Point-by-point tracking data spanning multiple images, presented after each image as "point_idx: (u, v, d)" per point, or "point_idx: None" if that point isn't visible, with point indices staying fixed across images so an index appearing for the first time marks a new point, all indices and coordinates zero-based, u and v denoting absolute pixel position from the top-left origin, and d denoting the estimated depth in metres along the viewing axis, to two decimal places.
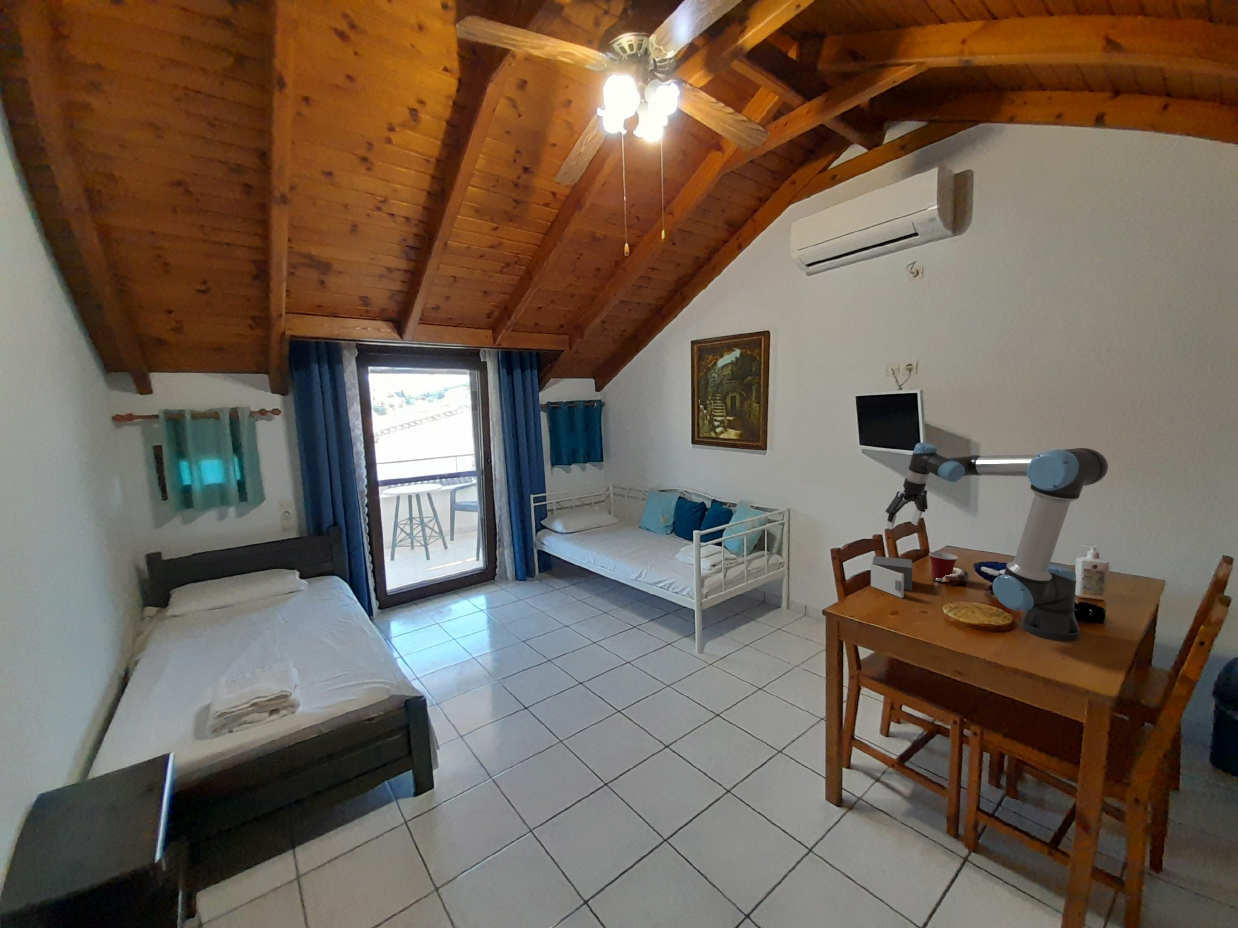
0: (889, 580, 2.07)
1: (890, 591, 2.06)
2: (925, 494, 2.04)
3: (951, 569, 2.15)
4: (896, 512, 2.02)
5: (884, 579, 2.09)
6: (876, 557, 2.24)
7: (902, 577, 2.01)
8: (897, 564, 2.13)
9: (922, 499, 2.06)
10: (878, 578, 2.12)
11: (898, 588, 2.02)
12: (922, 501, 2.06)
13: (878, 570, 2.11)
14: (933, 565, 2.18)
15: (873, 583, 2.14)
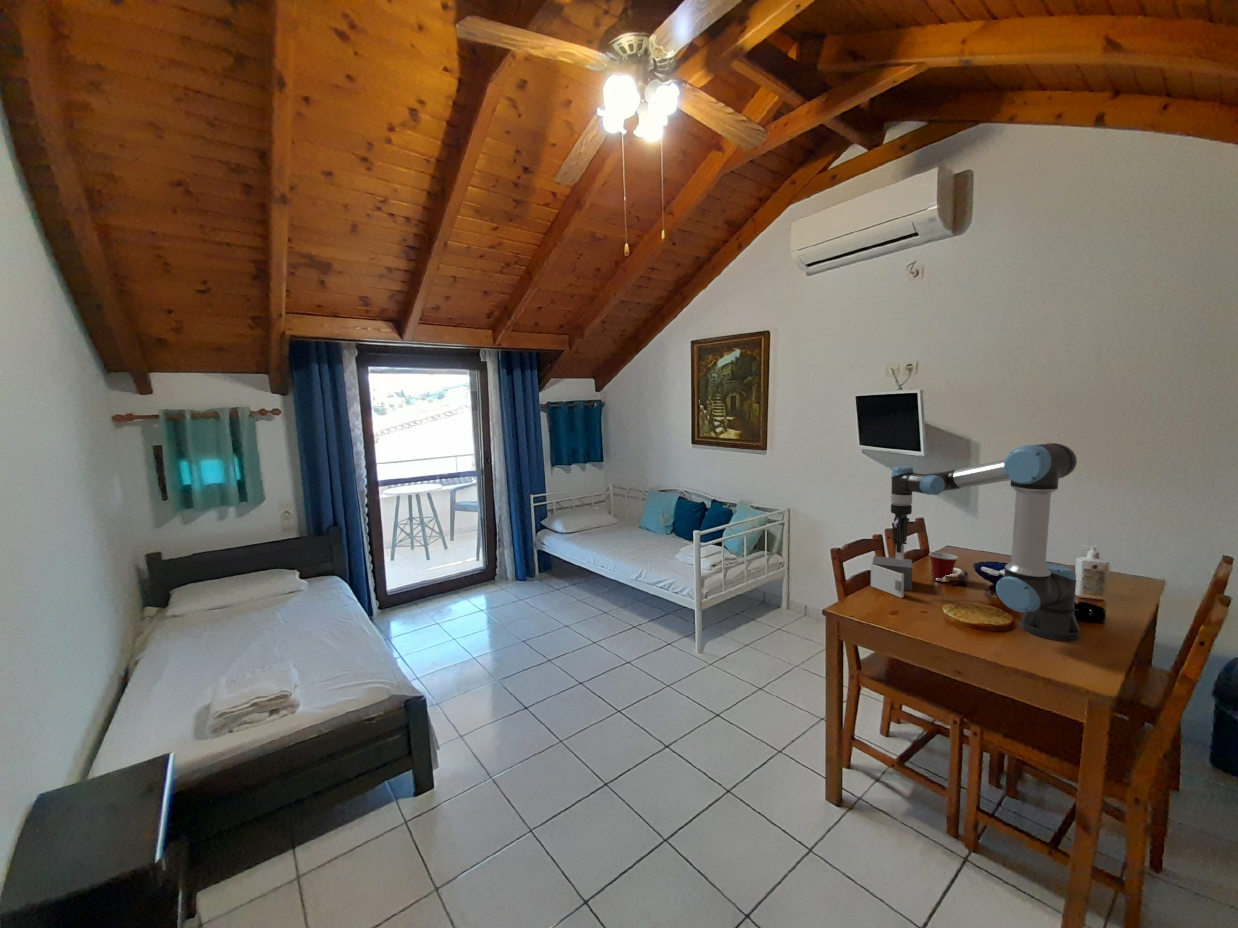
0: (889, 580, 2.07)
1: (890, 591, 2.06)
2: (908, 522, 2.07)
3: (951, 569, 2.15)
4: (902, 541, 2.04)
5: (884, 579, 2.09)
6: (876, 557, 2.24)
7: (902, 577, 2.01)
8: (897, 564, 2.13)
9: (904, 528, 2.07)
10: (878, 578, 2.12)
11: (898, 588, 2.02)
12: None
13: (878, 570, 2.11)
14: (933, 565, 2.18)
15: (873, 583, 2.14)
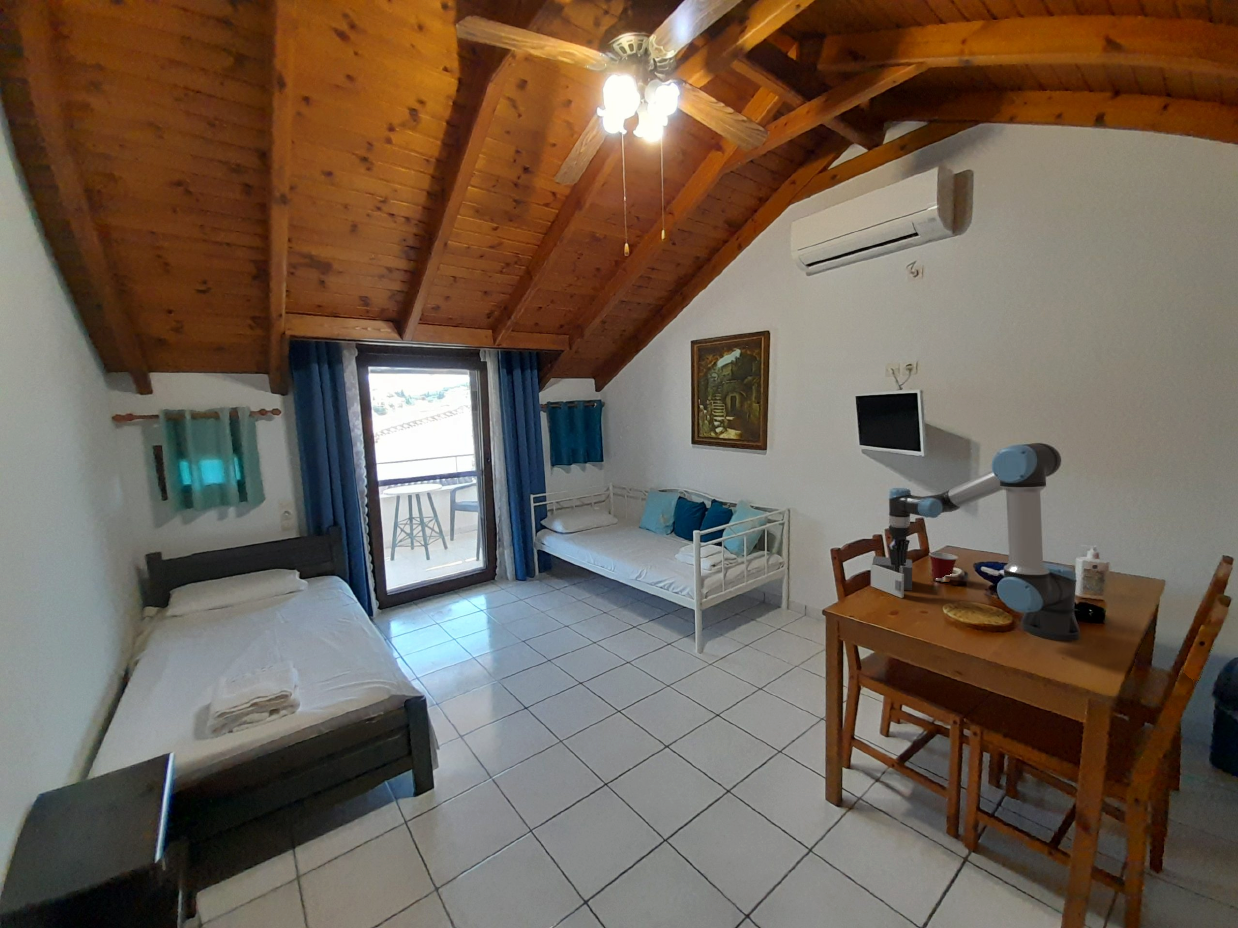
0: (889, 580, 2.07)
1: (890, 591, 2.06)
2: (908, 543, 2.07)
3: (951, 569, 2.15)
4: (900, 562, 2.04)
5: (884, 579, 2.09)
6: (876, 557, 2.24)
7: (902, 577, 2.01)
8: None
9: (903, 549, 2.07)
10: (878, 578, 2.12)
11: (898, 588, 2.02)
12: None
13: (878, 570, 2.11)
14: (933, 565, 2.18)
15: (873, 583, 2.14)
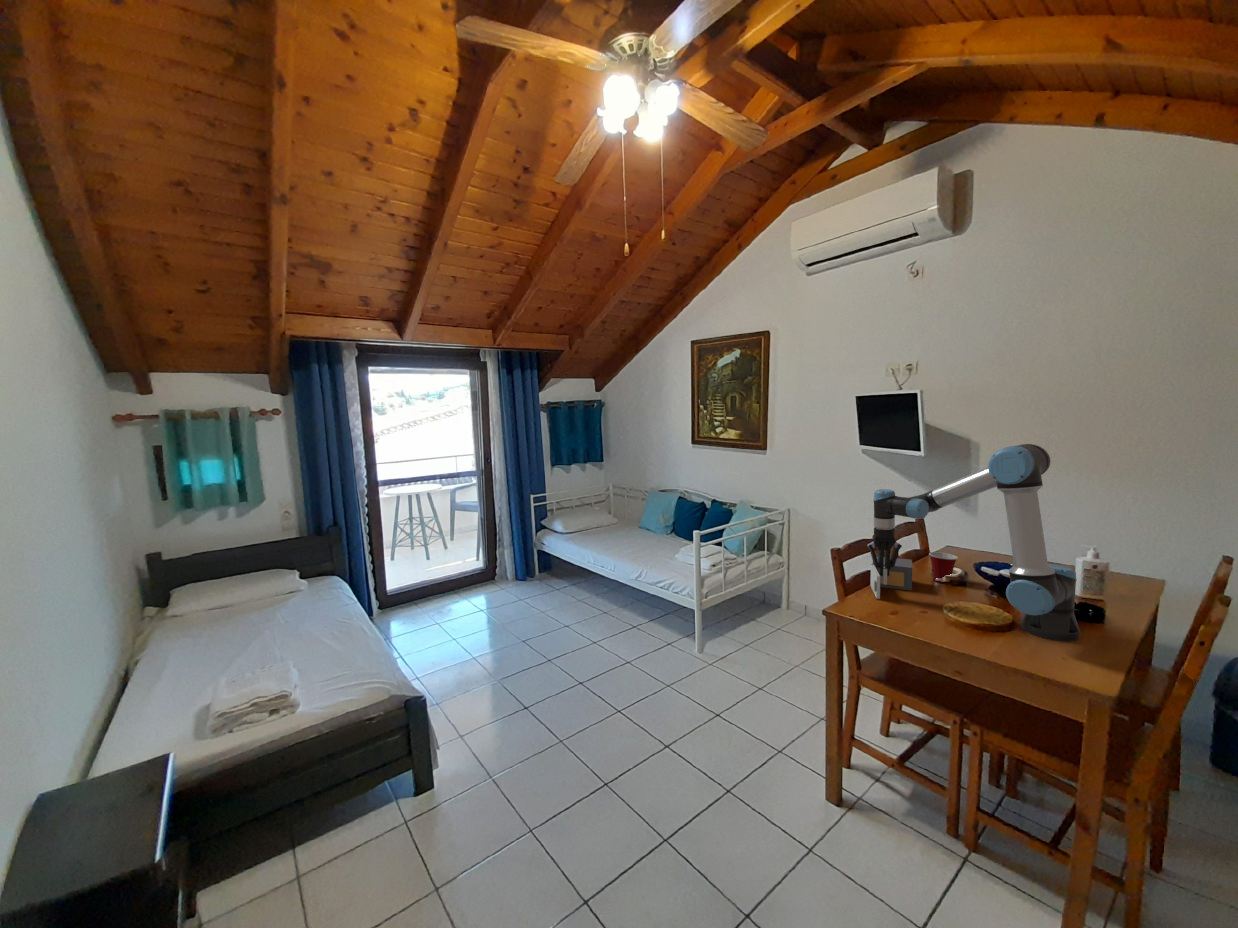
0: (874, 580, 2.07)
1: (874, 591, 2.07)
2: (898, 548, 2.01)
3: (951, 569, 2.15)
4: (882, 564, 2.03)
5: (873, 579, 2.09)
6: None
7: (878, 578, 2.01)
8: (897, 564, 2.13)
9: (893, 553, 2.02)
10: (872, 578, 2.12)
11: (874, 588, 2.03)
12: (892, 556, 2.03)
13: (872, 570, 2.12)
14: (933, 565, 2.18)
15: (871, 583, 2.15)
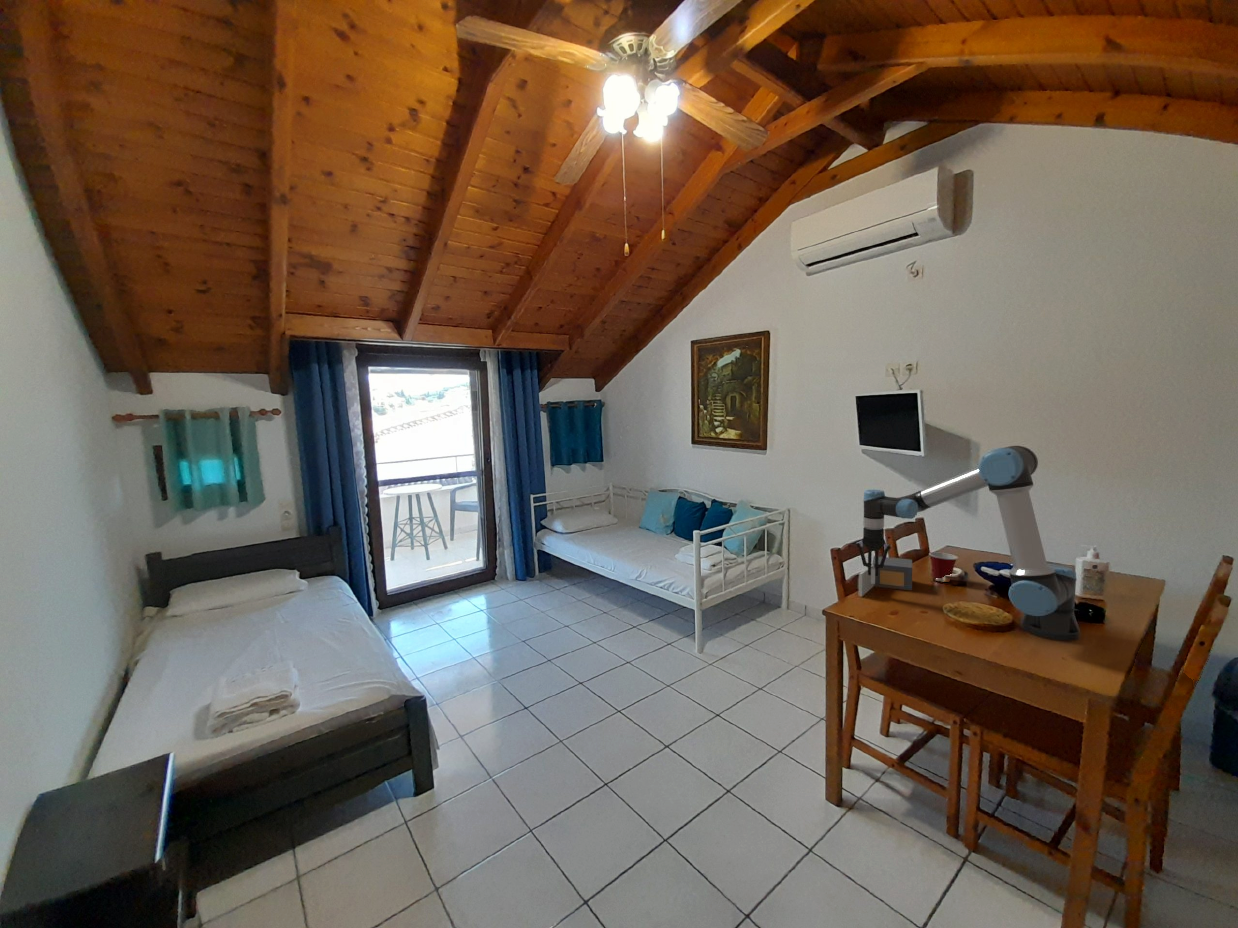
0: None
1: None
2: (887, 549, 2.01)
3: (951, 569, 2.15)
4: (869, 564, 2.05)
5: None
6: None
7: (859, 576, 2.04)
8: (897, 564, 2.13)
9: (883, 554, 2.03)
10: None
11: None
12: (882, 557, 2.03)
13: None
14: (933, 565, 2.18)
15: None
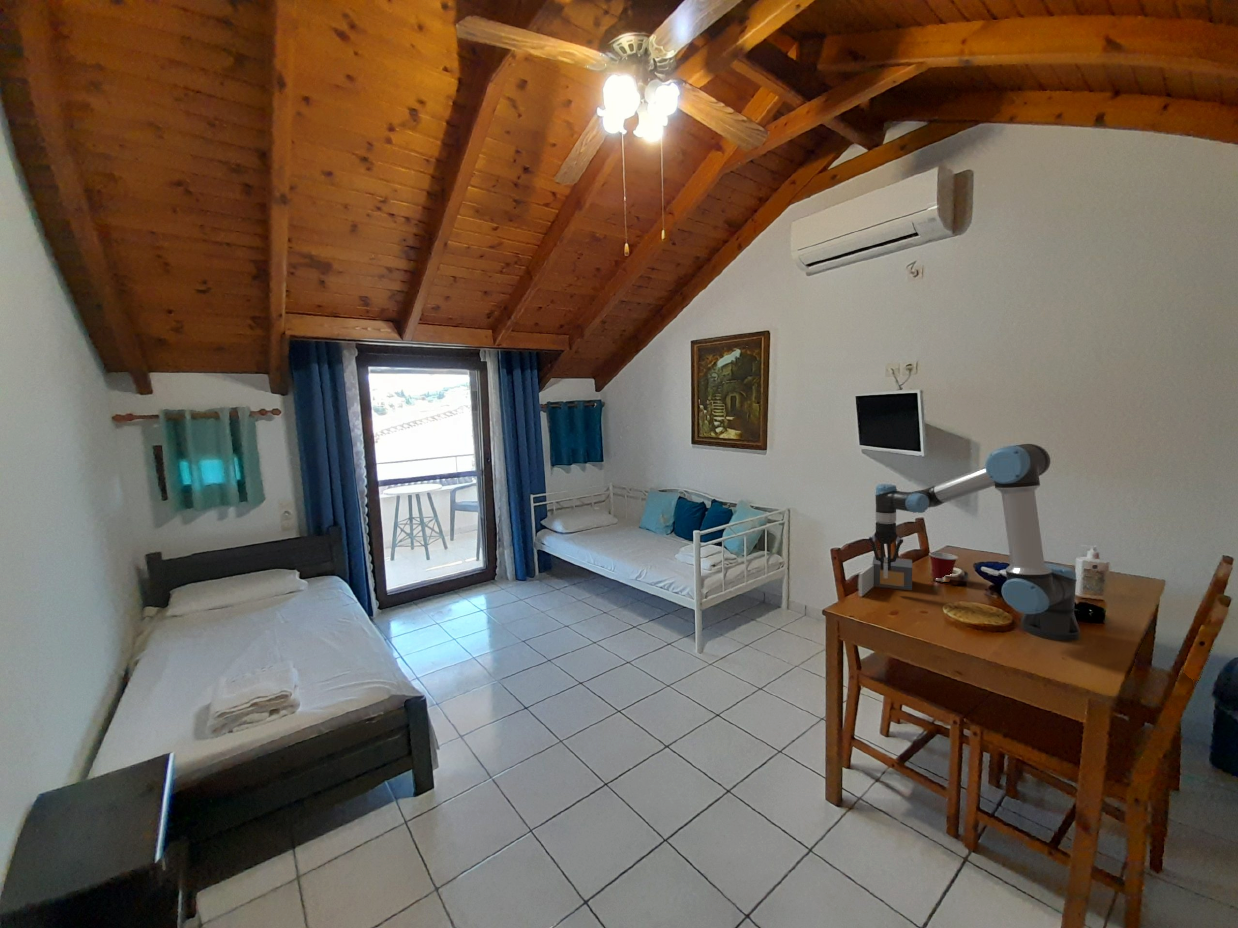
0: None
1: None
2: (899, 543, 2.02)
3: (951, 569, 2.15)
4: (882, 558, 2.06)
5: None
6: None
7: (859, 576, 2.04)
8: (897, 564, 2.13)
9: None
10: None
11: None
12: None
13: None
14: (933, 565, 2.18)
15: None
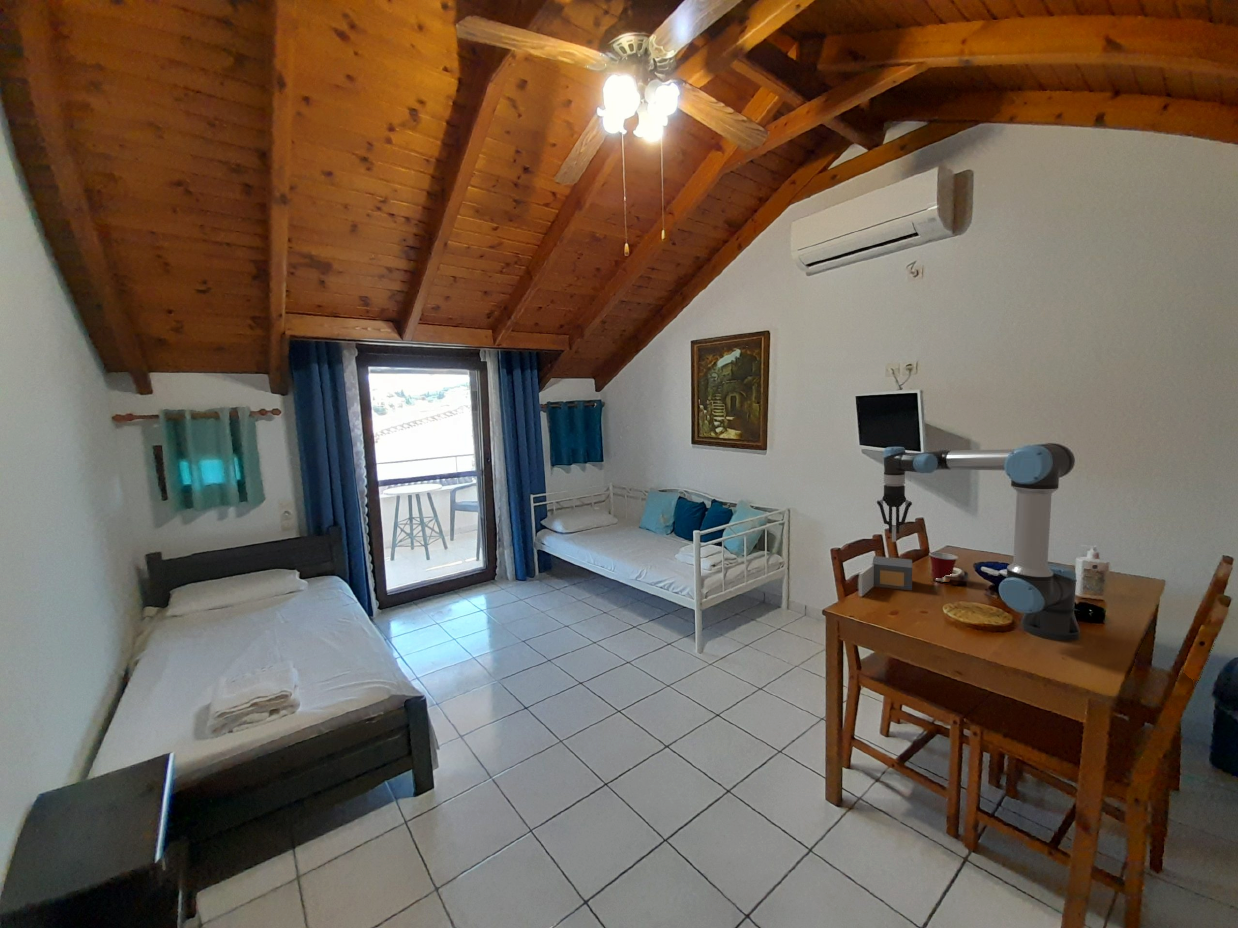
0: None
1: None
2: (908, 506, 2.00)
3: (951, 569, 2.15)
4: (890, 521, 2.04)
5: None
6: (876, 557, 2.24)
7: (859, 576, 2.04)
8: (897, 564, 2.13)
9: (904, 511, 2.02)
10: None
11: None
12: (903, 514, 2.02)
13: None
14: (933, 565, 2.18)
15: None
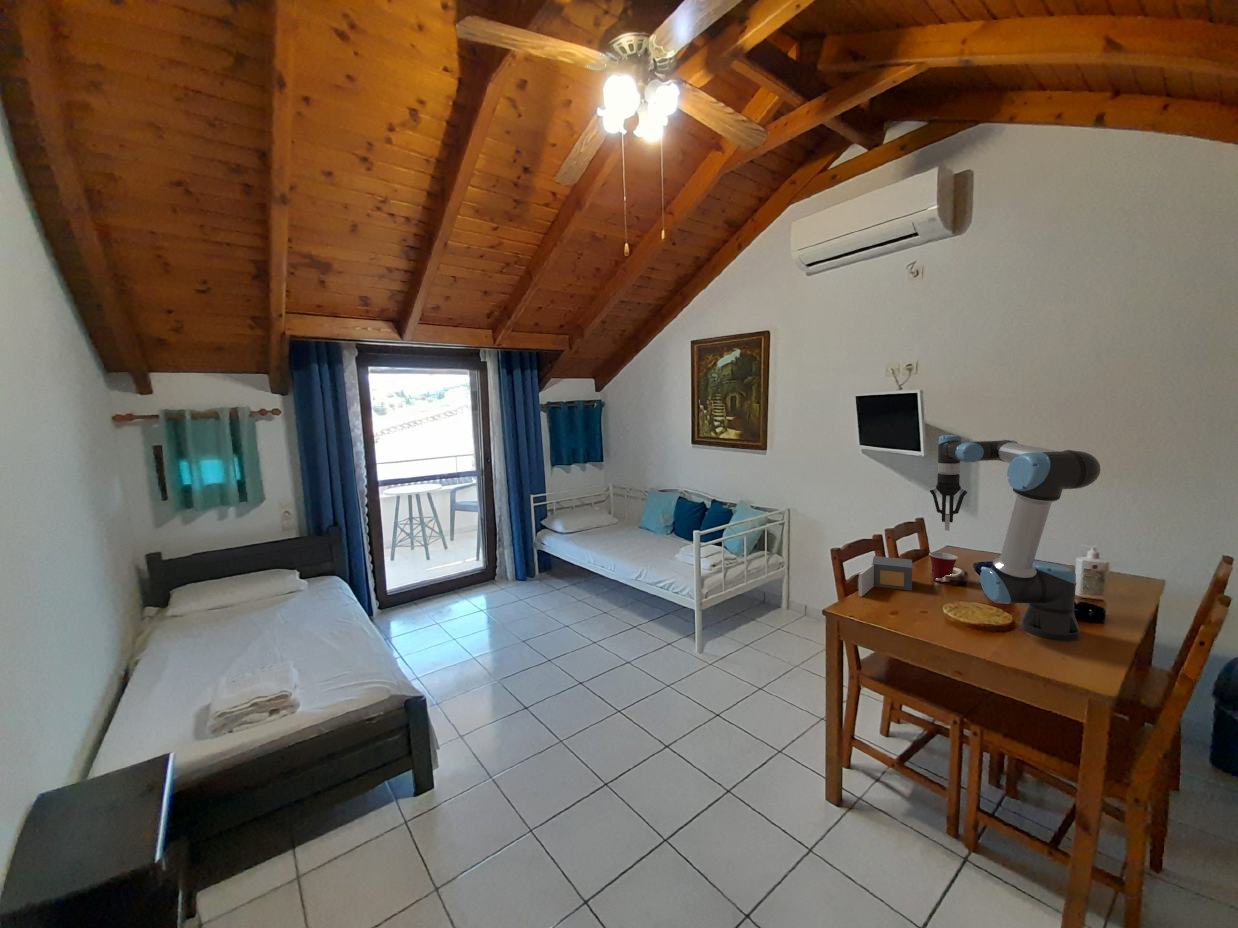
0: None
1: None
2: (963, 494, 1.99)
3: (951, 569, 2.15)
4: (944, 510, 2.03)
5: None
6: (876, 557, 2.24)
7: (859, 576, 2.04)
8: (897, 564, 2.13)
9: (958, 500, 2.01)
10: None
11: None
12: (957, 503, 2.01)
13: None
14: (933, 565, 2.18)
15: None
